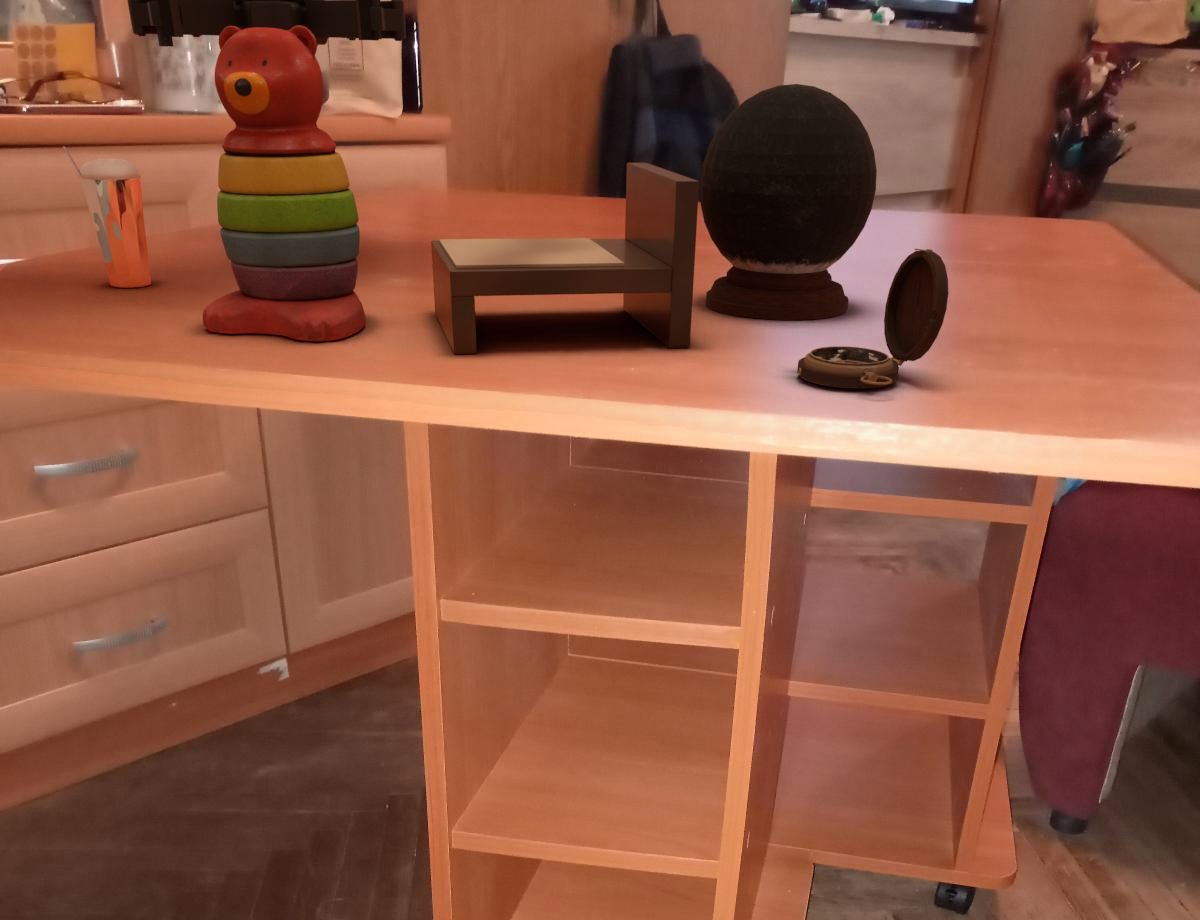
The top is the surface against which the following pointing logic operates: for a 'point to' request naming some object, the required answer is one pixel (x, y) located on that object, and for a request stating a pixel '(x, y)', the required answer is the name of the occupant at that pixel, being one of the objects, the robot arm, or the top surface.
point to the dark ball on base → (786, 202)
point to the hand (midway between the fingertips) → (266, 15)
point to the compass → (890, 329)
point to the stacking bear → (282, 194)
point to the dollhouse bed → (585, 263)
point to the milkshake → (117, 218)
